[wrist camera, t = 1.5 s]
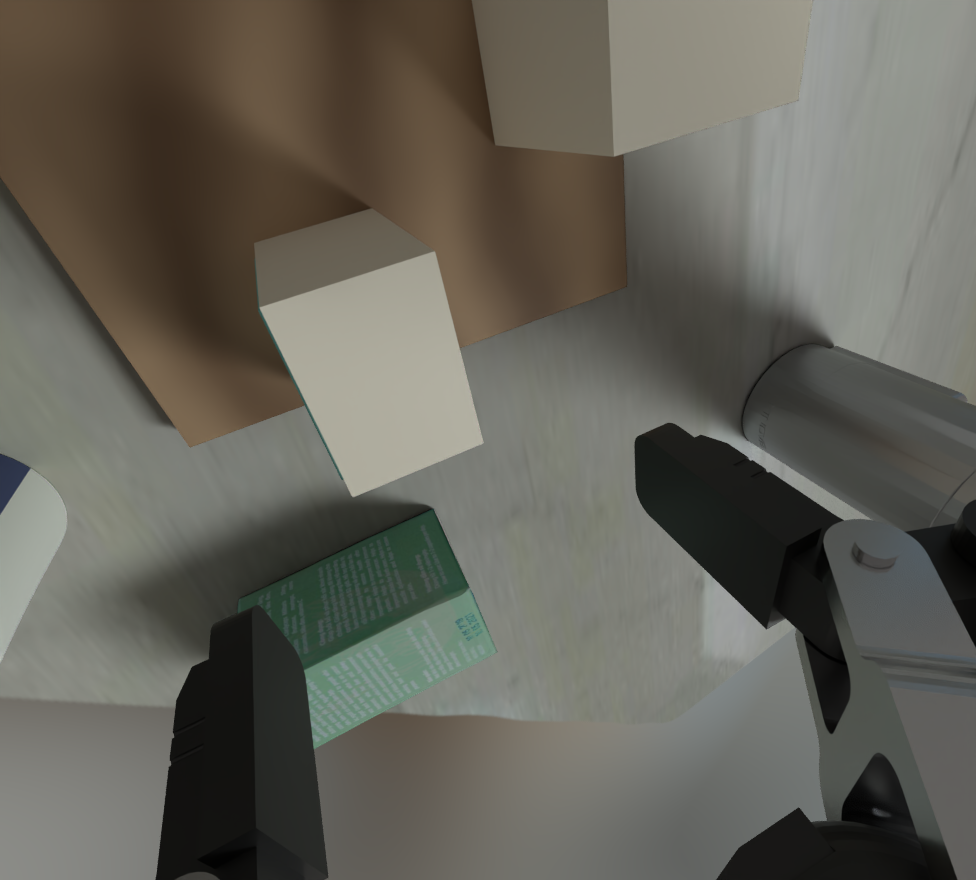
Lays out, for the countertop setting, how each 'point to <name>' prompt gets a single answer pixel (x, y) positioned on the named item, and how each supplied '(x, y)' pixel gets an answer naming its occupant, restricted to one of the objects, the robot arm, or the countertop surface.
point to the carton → (368, 345)
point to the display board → (279, 174)
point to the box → (377, 623)
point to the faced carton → (634, 68)
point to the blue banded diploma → (25, 539)
